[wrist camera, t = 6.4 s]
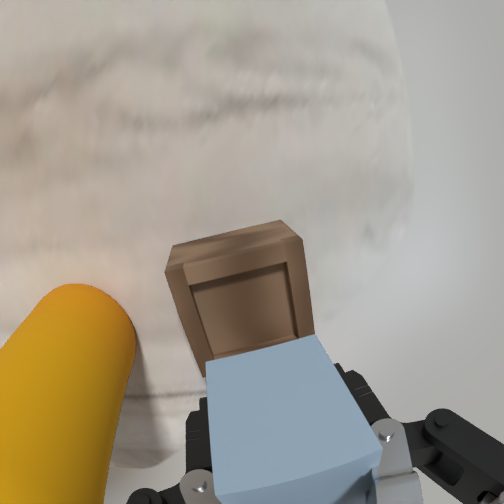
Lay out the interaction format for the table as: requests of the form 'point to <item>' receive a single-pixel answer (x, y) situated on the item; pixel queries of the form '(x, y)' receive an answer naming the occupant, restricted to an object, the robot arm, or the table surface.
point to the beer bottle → (63, 397)
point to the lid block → (287, 429)
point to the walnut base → (241, 291)
